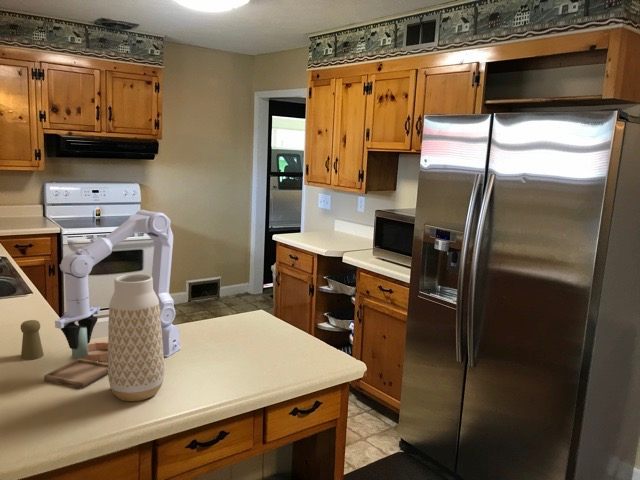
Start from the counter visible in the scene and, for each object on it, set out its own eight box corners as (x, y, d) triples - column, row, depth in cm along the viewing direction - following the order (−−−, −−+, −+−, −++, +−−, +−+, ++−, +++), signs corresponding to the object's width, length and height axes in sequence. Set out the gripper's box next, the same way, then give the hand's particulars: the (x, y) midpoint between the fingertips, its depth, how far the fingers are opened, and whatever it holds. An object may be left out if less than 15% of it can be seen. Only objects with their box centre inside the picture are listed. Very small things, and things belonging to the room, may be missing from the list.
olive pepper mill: (34, 361, 159) (31, 325, 157) (16, 359, 160) (13, 323, 158) (48, 353, 165) (46, 319, 163) (30, 351, 166) (28, 317, 164)
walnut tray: (116, 369, 154) (116, 364, 154) (83, 388, 142) (83, 383, 142) (79, 363, 158) (79, 358, 158) (44, 380, 146) (43, 375, 146)
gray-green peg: (91, 354, 150) (89, 326, 149) (80, 359, 147) (79, 331, 145) (79, 352, 152) (78, 324, 150) (68, 357, 148) (67, 329, 147)
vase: (110, 409, 131) (105, 286, 126) (107, 386, 144) (103, 273, 139) (168, 400, 137) (165, 282, 132) (161, 378, 149) (158, 270, 144)
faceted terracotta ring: (123, 351, 168) (123, 344, 168) (99, 364, 158) (99, 356, 158) (95, 346, 171) (95, 340, 171) (70, 358, 161) (70, 351, 161)
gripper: (84, 289, 154) (86, 335, 157) (44, 303, 141) (47, 352, 143) (105, 292, 152) (107, 338, 154) (66, 306, 139) (69, 356, 141)
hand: (79, 345), depth 149 cm, fingers closed on gray-green peg, 4 cm apart
